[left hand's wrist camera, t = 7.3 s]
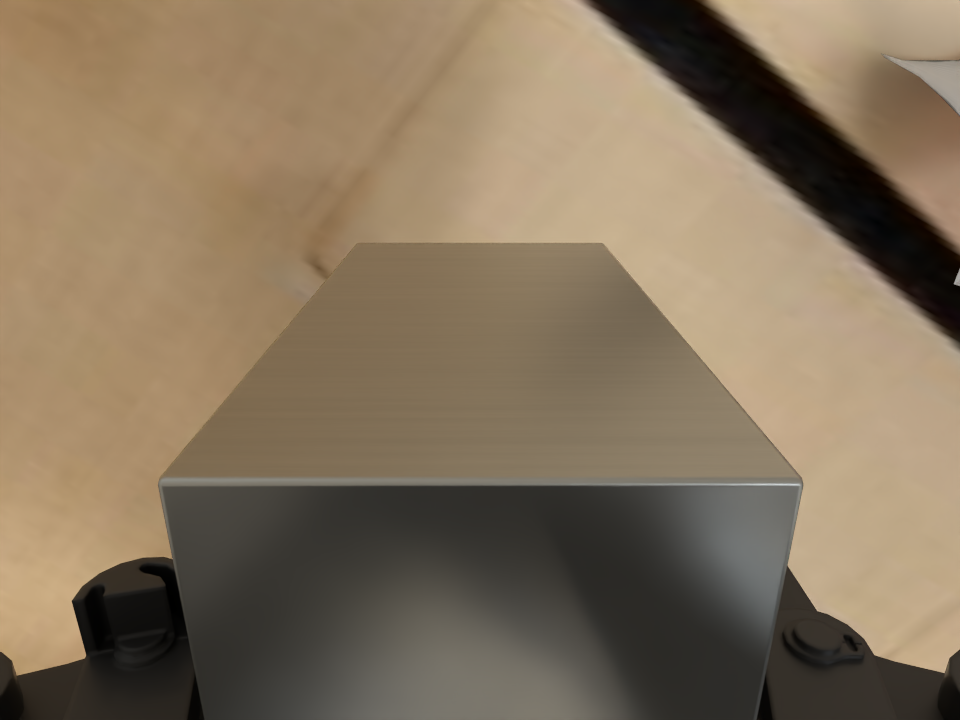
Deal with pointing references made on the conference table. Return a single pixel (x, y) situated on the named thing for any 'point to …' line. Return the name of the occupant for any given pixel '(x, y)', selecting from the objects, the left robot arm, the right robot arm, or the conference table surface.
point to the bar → (480, 504)
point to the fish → (937, 83)
